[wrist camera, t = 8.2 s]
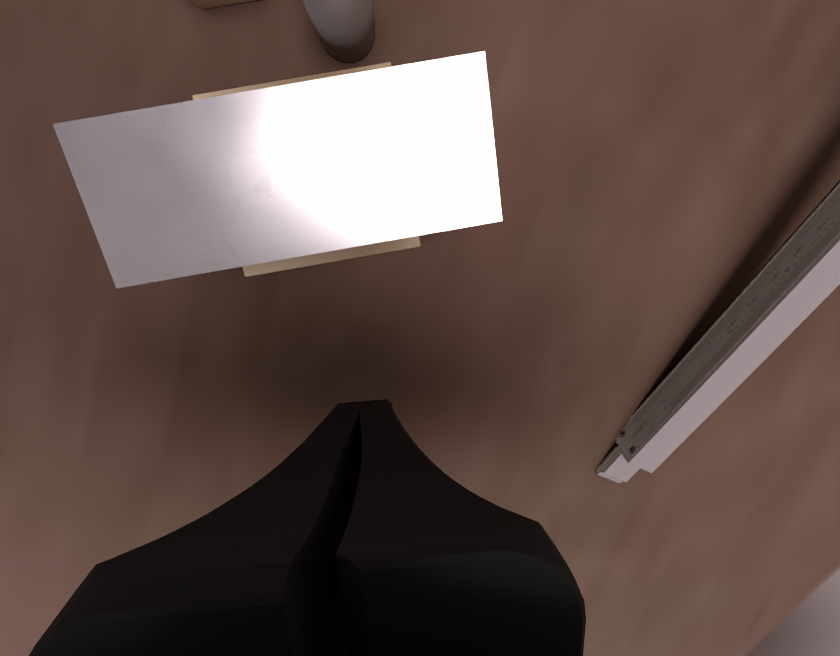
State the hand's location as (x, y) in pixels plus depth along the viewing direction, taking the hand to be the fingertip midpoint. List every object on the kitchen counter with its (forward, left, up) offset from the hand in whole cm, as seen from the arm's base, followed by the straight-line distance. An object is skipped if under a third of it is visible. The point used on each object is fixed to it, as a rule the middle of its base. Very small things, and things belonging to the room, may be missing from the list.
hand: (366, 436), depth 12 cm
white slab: (0, +6, -3) cm, 7 cm away
